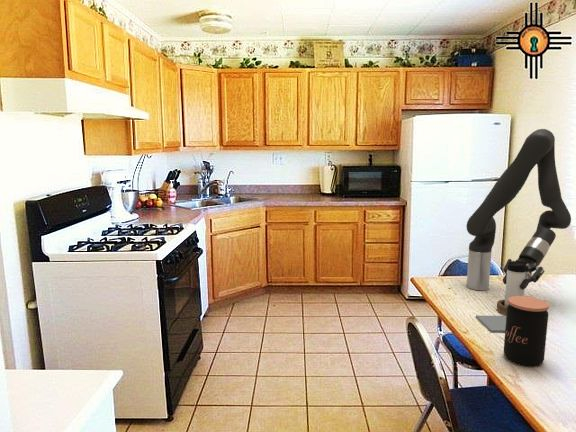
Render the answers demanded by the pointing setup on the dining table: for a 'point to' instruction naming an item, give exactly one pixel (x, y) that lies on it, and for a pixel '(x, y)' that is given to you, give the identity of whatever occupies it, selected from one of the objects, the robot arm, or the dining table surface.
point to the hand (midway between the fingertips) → (512, 285)
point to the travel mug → (514, 279)
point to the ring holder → (501, 307)
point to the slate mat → (493, 323)
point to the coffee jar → (526, 330)
